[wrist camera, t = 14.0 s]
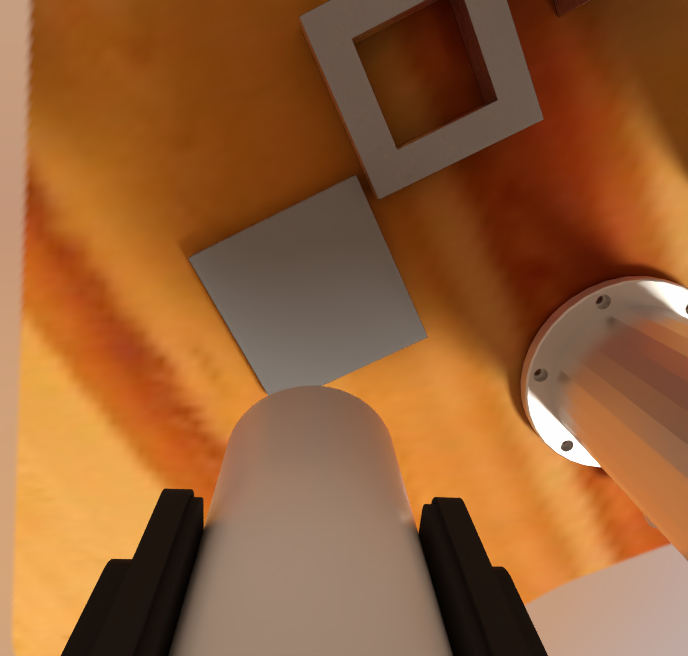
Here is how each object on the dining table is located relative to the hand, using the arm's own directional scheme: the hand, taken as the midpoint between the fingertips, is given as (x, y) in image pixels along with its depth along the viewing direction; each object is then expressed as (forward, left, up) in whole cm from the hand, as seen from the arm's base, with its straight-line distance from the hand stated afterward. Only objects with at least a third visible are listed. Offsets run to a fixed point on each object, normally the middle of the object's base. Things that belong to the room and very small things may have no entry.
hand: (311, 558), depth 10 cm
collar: (+8, -10, -21) cm, 24 cm away
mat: (0, 0, -21) cm, 21 cm away
